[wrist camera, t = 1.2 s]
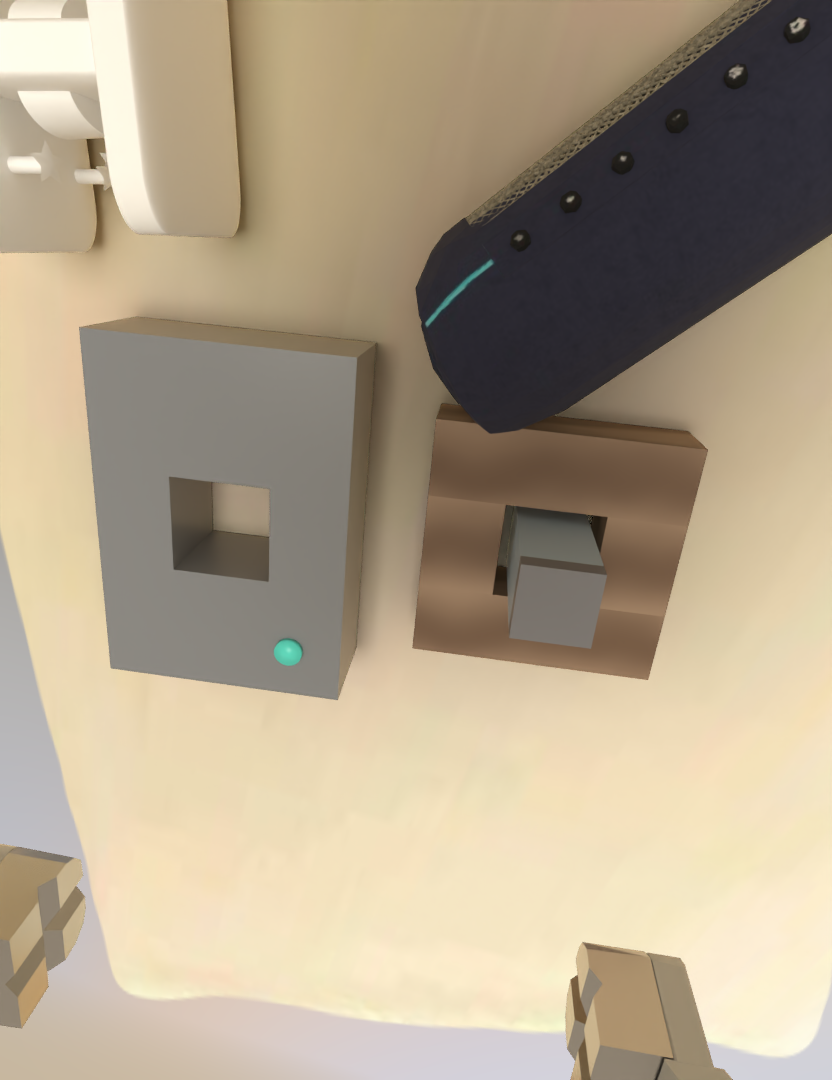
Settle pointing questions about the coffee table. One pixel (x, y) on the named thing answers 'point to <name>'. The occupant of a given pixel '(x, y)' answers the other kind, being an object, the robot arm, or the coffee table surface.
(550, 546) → the plug
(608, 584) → the square wooden frame
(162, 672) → the port box
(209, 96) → the cable organizer
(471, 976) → the coffee table surface
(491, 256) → the portable speaker
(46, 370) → the coffee table surface
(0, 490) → the coffee table surface
